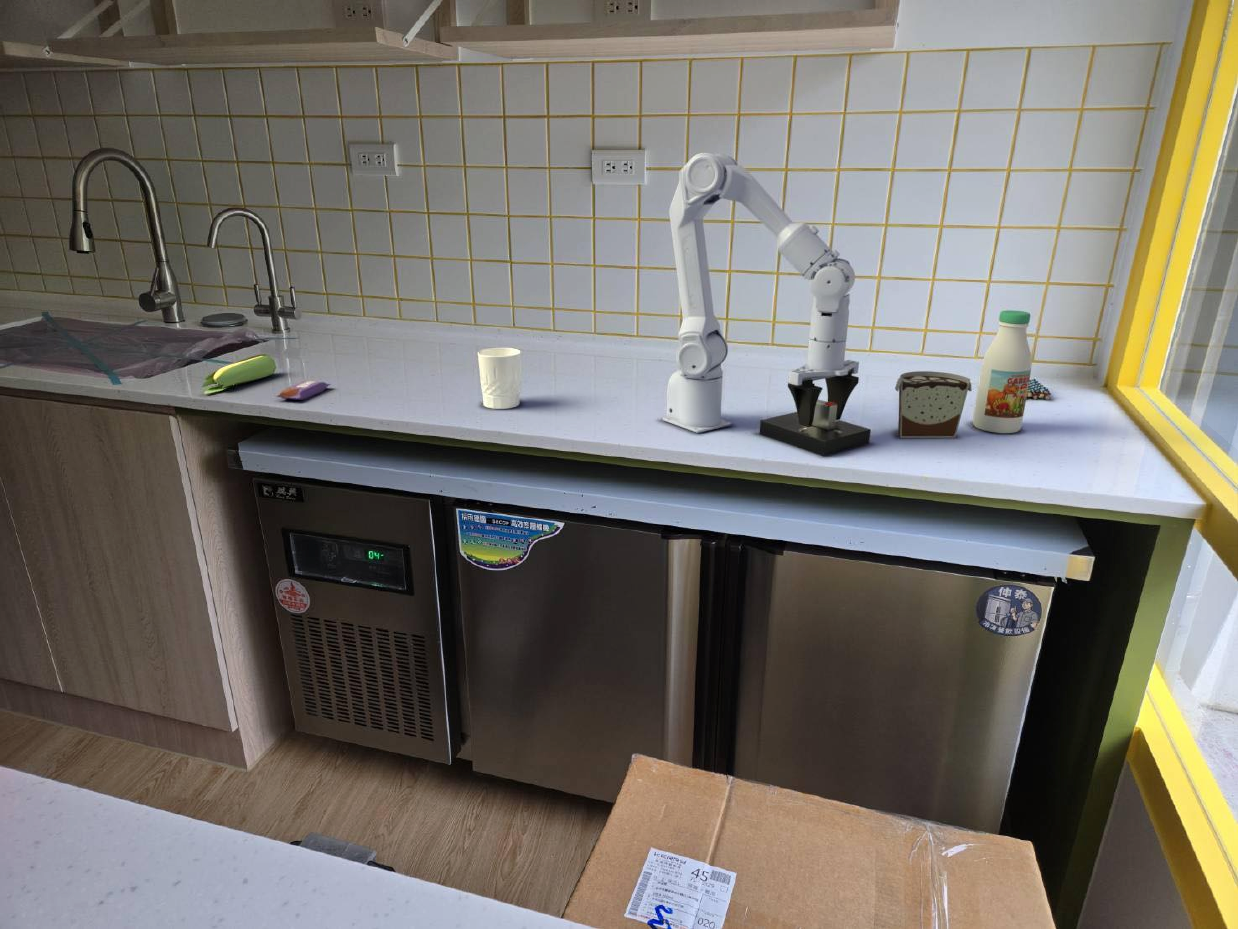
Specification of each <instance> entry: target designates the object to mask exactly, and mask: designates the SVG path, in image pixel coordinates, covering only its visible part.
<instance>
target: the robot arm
mask: <svg viewBox="0 0 1238 929" xmlns="http://www.w3.org/2000/svg"><path fill="white" fill-rule="evenodd" d="M738 163H739V162H738V161H737V160H736V159H735V158H734V157H733V156H732V155H729V154H726V153H718V154H714V153H709V152H700V153H697V154H696V155H694V156H692V157H691V158H690V159H689V160H688V161H687V163H686V164H685V165H684V166H683V167H682V168H681V169H680V170H679V173H678V175H679V176H678V184H677V185H676V190H675V192H674V195H673V198H672V201H671V203H670V207H669V210H668V211H669V214H668V216H669V221H670V229H671V230H670V231H671V238H672V245H673V251H674V253H673V254H674V262H675V269H676V276H677V285H678V292H679V300H680V308H681V316H682V322H681V325H680V328H679V331H678V335H677V336H678V347H677V350H676V353H675V362H676V365H677V367H678V370H676V371H675V372H673V373H672V375H671V376H670V377H669V379H668V382H667V389H666V390H667V392H666V416H664V417H662V421H664V422H667V423H669V424H671V425H675V426H677V427H681V428H683V429H686V430H688V431H691V432H694V433H697V434H699V433H703V432H708V431H712V430H717V429H720V428H725V427H729V426H731V425H732V422H731V421H728V420H725V419H722V418H721V417H722V400H723V398H722V396H723V380H724V378H723V377H724V371H723V369H722V364H723V363H724V362H725V361H726V358H727V357H728V353H729V346H728V343H727V340H726V339H725V337H724V335H723V333H722V330H721V324H720V322H719V320H718V319H717V317H716V316H715V312H714V304H713V295H712V286H711V277H710V270H709V260H708V255H707V254H708V253H707V252H708V251H707V243H706V235H705V227H704V218H705V216H706V215H707V214H708V212H710V210H711V209H712V208H713V207H714V206H715V204H716V203H717V202H718V201H720V200H721V199H723V200H728V201H732V202H737V203H740V204H741V205H742V206H744V207H745V208H746V209H747V210H748V211H749V212H750V213H751V214H752V215H753V216H754V217H755V218H756V219H757V220H758V221H759V222H760V223H761V224H763V225H764V226H765V227H766V228H767V229H768V230H769V232H771V233H772V234H773V235H774V236H775V237H776V240H777V251H778V252H779V253H780V255H781V256H783V257H784V259H785V260H786V261H787V262H789V264H790V265H791V266H792V267H793V268H794V269H795V270H796V271H797V272H798V273H799V274H800V275H801V277H802V278H804V280H807V281H809V289H810V292H811V293H812V295H813V299H812V308H811V310H810V322H809V323H810V324H809V336H808V337H809V338H808V346H807V357H806V364H804V365H802V366H799V367H798V368H796V369H792V370H789V371H788V380H787V388H788V390H789V391H790V393H791V396H792V399H793V401H794V404H795V409H796V412H797V414H798V420H799V424H800V425H803V426H806V427H811V426H812V423H813V419H814V413H815V407H816V403H817V400H818V399H819V397H820V395H821V393H822V391H823V387H821V386H817V385H815V382H814V381H820V380H825V384H826V392H827V402H834V403H836V404H837V413H836V420H841V418H842V415H843V413H844V411H845V408H846V405H847V402H848V400H849V398H850V396H851V394H852V392H853V391H854V389H855V388H856V386H858V384H859V381H860V378H859V376H855V375H857V374H859V367H860V361H857V360H853V359H846V360H845V356H846V347H847V339H848V329H849V328H848V327H849V317H850V310H849V307H850V303H851V302H850V301H851V300H850V298H851V294H850V293H849V292H850V291H851V290H852V288H853V286H854V285H855V282H856V274H855V271H854V268H853V267H852V265H851V263H850V262H849V260H847V259H844V258H840V256H841V255H840V252H839V251H837V249H834V250H832V248H831V247H830V246H828V244H827V243H826V242H825V241H824V240H822V238H821V237H820V236H819V235H818V234H819V232H820V230H819V229H818V227H816V225H811V226H809V224H807V223H806V222H794V221H793V220H792V219H791V218H790V217H789V216H788V215H787V213H785V211H784V210H783V209H782V208H781V207H780V205H779V204H778V203H777V202H776V200H774V199H773V197H772V196H771V195H770V194H769V193H768V192H767V191H766V190H765V188H764V187H763V186H762V185H761V184H760V183H759V181H758V180H757V179H756V178H755V177H754V176H753V174H751V172H750V171H749V170H748V169H747V168H745V167H744V166H742V165H741V164H740V165H739V164H738Z"/></svg>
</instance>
